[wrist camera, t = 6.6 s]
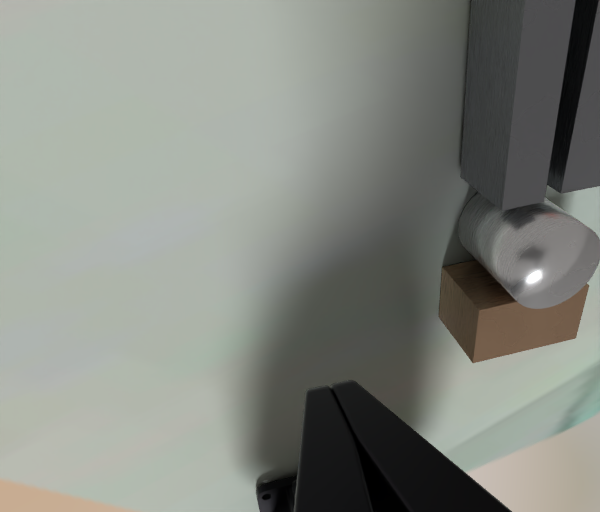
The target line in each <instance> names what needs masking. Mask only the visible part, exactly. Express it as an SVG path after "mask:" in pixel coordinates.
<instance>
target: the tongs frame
mask: <svg viewBox="0 0 600 512" xmlns="http://www.w3.org/2000/svg"><path fill="white" fill-rule="evenodd" d="M547 185H549V186H550V187H552V188H553V189H555V190H556V191H558V192H559V193H566V192H571V191H576V190H581V189H586V188H592V187H597V186H600V0H576V1H575V7H574V13H573V20H572V26H571V33H570V39H569V45H568V52H567V58H566V65H565V71H564V77H563V84H562V90H561V97H560V103H559V109H558V116H557V122H556V128H555V135H554V141H553V148H552V154H551V160H550V167H549V173H548V180H547ZM458 234H459V238H460V241H461V243H462V245H463V246H464V247H465V248H466V249H467V250H468V251H469V252H470V253H471V255H472V256H473V257H474V258H475V259H476V260H473V261H468V262H463V263H459V264H454V265H449V266H444V267H442V278H441V292H440V306H439V318H440V319H441V321H442V322H443V323H444V325H445V326H446V327H447V329H448V330H449V331H450V333H451V334H452V336H453V337H454V338H455V340H456V341H457V342H458V344H459V345H460V346H461V348H462V349H463V350H464V352H465V353H466V355H467V356H468V357H469V359H470V360H471V361H472V363H475V362H480V361H484V360H488V359H492V358H496V357H500V356H504V355H509V354H513V353H517V352H521V351H525V350H529V349H533V348H538V347H542V346H546V345H550V344H554V343H558V342H562V341H567V340H571V339H575V338H576V335H577V331H578V327H579V324H580V320H581V316H582V312H583V308H584V304H585V300H586V296H587V292H588V288H589V285H588V284H587V282H588V281H589V280H590V278H591V277H592V275H593V274H594V272H595V270H596V268H597V266H598V263H599V260H600V240H599V238H598V236H597V235H596V233H595V232H594V231H593V230H591V229H590V228H589V227H587V226H586V225H584V224H583V223H581V222H580V221H578V220H577V219H576V218H574V217H573V216H571V215H570V214H568V213H567V212H565V211H564V210H563V209H561V208H560V207H558V206H557V205H555V204H554V203H552V202H551V201H550V200H548V199H547V198H545V199H544V202H540V203H536V204H531V205H527V206H522V207H517V208H513V209H508V210H504V211H502V210H500V209H499V208H498V207H497V206H495V205H494V204H493V203H492V202H490V201H489V200H488V199H487V198H486V197H484V196H483V195H482V194H481V193H479V192H478V193H477V194H475V195H474V196H473V197H472V199H471V200H470V201H469V202H468V204H467V205H466V206H465V208H464V210H463V212H462V214H461V217H460V220H459V225H458Z"/></svg>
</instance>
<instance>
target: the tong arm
mask: <svg viewBox="0 0 600 512" xmlns="http://www.w3.org/2000/svg"><path fill="white" fill-rule="evenodd" d="M575 1H576V0H471V11H470V28H469V44H468V61H467V78H466V94H465V111H464V127H463V144H462V160H461V178H462V179H464V180H465V181H466V182H467V183H468V184H470V185H471V186H472V187H473V188H475V189H476V190H477V191H478V192H479V193H481V194H482V195H483V196H484V197H486V198H487V199H488V200H489V201H490V202H492V203H493V204H494V205H495V206H497V207H498V208H499V209H500V210H502V211H504V210H508V209H513V208H517V207H522V206H527V205H531V204H536V203H540V202H544V199H545V192H546V186H547V180H548V173H549V167H550V160H551V154H552V148H553V141H554V135H555V128H556V122H557V116H558V109H559V103H560V97H561V90H562V84H563V77H564V71H565V65H566V58H567V52H568V45H569V39H570V33H571V26H572V20H573V13H574V7H575Z"/></svg>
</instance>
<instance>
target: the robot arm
mask: <svg viewBox="0 0 600 512" xmlns="http://www.w3.org/2000/svg"><path fill="white" fill-rule="evenodd" d="M256 495H257V500H258V505H259V510H260V512H512V511H511V510H509V509H508V508H507V507H506V506H505V505H503V504H502V503H501V502H500V501H499V500H497V499H496V498H495V497H494V496H493V495H491V494H490V493H489V492H488V491H487V490H485V489H484V488H483V487H482V486H481V485H479V484H478V483H477V482H476V481H475V480H473V479H472V478H471V477H470V476H468V475H467V474H466V473H465V472H464V471H463V470H461V469H460V468H459V467H458V466H457V465H455V464H454V463H453V462H452V461H451V460H449V459H448V458H447V457H446V456H444V455H443V454H442V453H441V452H440V451H438V450H437V449H436V448H435V447H434V446H432V445H431V444H430V443H429V442H428V441H426V440H425V439H424V438H423V437H422V436H420V435H419V434H418V433H417V432H416V431H414V430H413V429H412V428H411V427H410V426H408V425H407V424H406V423H405V422H404V421H402V420H401V419H400V418H399V417H398V416H396V415H395V414H394V413H393V412H391V411H390V410H389V409H388V408H387V407H385V406H384V405H383V404H382V403H381V402H379V401H378V400H377V399H376V398H375V397H373V396H372V395H371V394H370V393H369V392H367V391H366V390H365V389H364V388H363V387H361V386H360V385H359V384H358V383H357V382H355V381H353V380H348V381H344V382H339V383H334V384H332V385H331V386H330V387H329V386H327V385H325V386H320V387H315V388H311V389H308V390H307V391H306V393H305V402H304V412H303V423H302V433H301V444H300V454H299V464H298V475H297V476H294V477H290V478H287V479H283V480H279V481H275V482H271V483H267V484H264V485H261V486H260V487H258V488H257V490H256Z"/></svg>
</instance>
